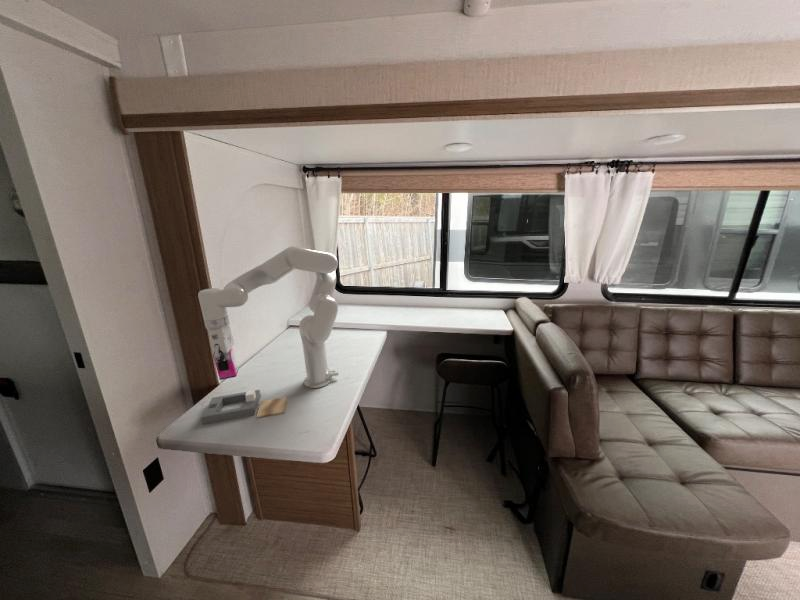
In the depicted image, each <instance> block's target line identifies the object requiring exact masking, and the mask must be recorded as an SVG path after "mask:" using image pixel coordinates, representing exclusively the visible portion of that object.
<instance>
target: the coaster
mask: <svg viewBox="0 0 800 600" xmlns="http://www.w3.org/2000/svg"><path fill="white" fill-rule="evenodd" d="M286 404H287V397H280V398H274V399H268V400H263V401H260V404H259V407H258V410H257V412H256V418H257V419H258V418H264V417H269V416H274V415H275V416H276V415H281V414H285V412H286V406H287V405H286Z"/></svg>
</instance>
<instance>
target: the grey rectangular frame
mask: <svg viewBox="0 0 800 600" xmlns="http://www.w3.org/2000/svg"><path fill="white" fill-rule="evenodd" d="M261 398H262V396H261V390H260V389H256V390H255V389H253V390H247V391H245V392H244V391H243V392H238V393H233V394H232V393H231V394H226V395H225V394H224V395H221V396H214V397H213V396H212V398H211V400H210V401H209V403H208V405H207V407H206V408H205V410H204V411H203V413H202V415H201V416H200V417H201V423H202V425H206V424H211V423H215V422H217V423H218V422H221V421H227V420H231V419H233V420H234V419H238V418H243V417H249V416H254V415H256V414H257V411H258V410H257V409H258V408H259V407H258V406H259V405H260V404H259V402H260V400H261ZM240 402H244V404H243V405H242V407H237V408H233V409H226V410H223V407H224V405H229V404H234V403H240Z"/></svg>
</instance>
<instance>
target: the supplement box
mask: <svg viewBox="0 0 800 600" xmlns="http://www.w3.org/2000/svg"><path fill="white" fill-rule="evenodd" d="M220 353H223V352H222V351H220ZM225 354H226V360H227V361H228V366H229V370H225V371H219V368H218V363H217V360H216V359H215V357H214V354H213V353H212V356H213V361H214V364H215V367H216V371H217V375H218V380H220V381H221V380H226V379H231V378H236V377H237V375H238V372H239V368H238V365H237V360H236V356H235V352H234V349H233V346H232V348H231V349H230V350H229V352H228V353H225ZM220 356H222V357H223V354H221V355H220Z"/></svg>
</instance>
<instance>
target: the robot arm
mask: <svg viewBox="0 0 800 600" xmlns="http://www.w3.org/2000/svg"><path fill="white" fill-rule="evenodd" d="M338 266H339V260H338V259H337V257H336V255H334V254H333V253H331V252H326V251H321V250H313V249H309V248H304V247H299V246H296V245H292V246H289V247H287V248H285V249H283V250H282V251H281V252H278V253H277V254H275V255H274V256H272V257H270V259H268V260H266V261H264V262H263V263H261V264H259V265H258V266H256V267H254V268H252V269H250V270H248V271H246V272H245V273H242V274H240V275H239V276H237V277H236V278H235V279H232V280H231V281H230V282H228V283H227V284H225V286H224V287H223V288H222V289H221V288H217V287H214V288H212V287H211V288H205V289H201V290H200V291H198V294H197V295H198V301H199V305H200V310H201V313H202V318H203V323H204V327H205V329H206V330H207V331H208V337H209V342H210V343H209V344H210V349H211V351H212V355H213V354H214V357H215V359H216V360H217V363H218V368H219V371H225V370H229V366H228V361H227V360H226V354H225V353H228V352H229V350H230V349H231V348H232V347H233V346H234V344H235V342H234V341H235V340H234V338H233V337H234V336H233V333H232V330H231V327H230V322H229V321H230V320H229V315H228V311H227V308H236V307H237V308H239V307H241V306H242V307H243V306H244V305H245V304H246V303H247V302H248V300H249V295H248V294H249V293H252V292H253V291H255V290H256V289H258V288H260V287H263V286H266V285H271V284H275V283H277V282H278V281H280V280H281V279H283V278H284V277H286V276H287V275H289V274H290V273H292V272H293V271H295V270H298V271H306V272H310V273H315V275H316V280H315V284H314V287H313V290H312V293H311V295H310V296H311V297H310V299H309V302H308V307H309V309H310V311H311V312H312V313H314V314H310V315H309V314H308V315H306V316H304V317H303V318H301V320H300V321H299V327H298V329H299V334H300V339H301V343H302V349H303V356H304V365H305V373H306V377H305V378H304V380H303V383H304V386H305V387H306V388H309V389H317V388H322V387H323V388H324V387H325V386H328V385H329V384H330V383H331V382H332V381H333V377H337V376H339V371H336V369H332V370H330V369H329V367H328V360H327V352H326V351H327V350H326V343H325V342H326V341H328V339H329V337H330V336H331V334H332V331H333V328H334V324H335V322H336V318H337V316H338V311H339V305H338V303H337V301H336V300H335V298H333V296H334V292H335V288H336V284H337V273H336V270H337V268H338ZM220 351H222V352H223V353H220ZM221 354H223V357H222V356H220V355H221ZM214 357H213V358H214Z"/></svg>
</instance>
